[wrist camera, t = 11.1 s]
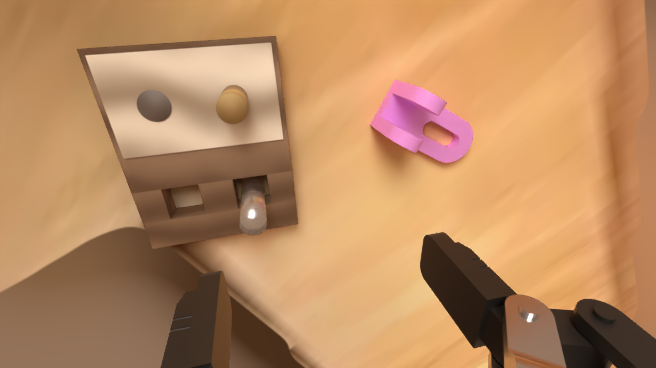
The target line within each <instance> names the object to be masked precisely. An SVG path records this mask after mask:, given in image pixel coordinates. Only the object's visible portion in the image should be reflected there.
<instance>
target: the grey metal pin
mask: <svg viewBox="0 0 656 368" xmlns="http://www.w3.org/2000/svg"><path fill="white" fill-rule="evenodd" d="M266 227H267V217H266V206H265V194H264V182H263V179H262V177H261V176H253V177H246V178H243V180H242V192H241V209H240V228H241V230H242V231H243V232H244V233H245V234H248V235H258V234H260V233H262V232H263V231H264V230H265V229H266Z"/></svg>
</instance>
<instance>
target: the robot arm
mask: <svg viewBox="0 0 656 368" xmlns="http://www.w3.org/2000/svg"><path fill="white" fill-rule="evenodd" d="M420 269H421V273H422V276H423V278H424V280H425V281H426V282H427V284H428V285H429V287H430V288H431V289H432V291H433V292H434V294H435V295H436V296H437V298H438V299H439V301H440V302H441V303H442V305H443V306H444V308H445V309H446V310H447V312H448V313H449V315H450V316H451V317H452V319H453V320H454V322H455V323H456V324H457V326H458V327H459V329H460V330H461V331H462V333H463V334H464V336H465V337H466V338H467V340H468V341H469V343H470V344H471V345H472V347H473V348H478V347H481V346H485V345H486V347H487V348H488V349H489V355H488V368H610V367H611V365H612V364H613V365H614V366H616V367H617V368H656V339H655V338H653V337H652V336H651V335H650V334H648V333H647V332H646V331H645V330H643V329H642V328H641V327H640V326H638V325H637V324H636V323H635V322H633V321H632V320H631V319H630V318H628V317H627V316H626V315H625V314H623V313H622V312H621V311H619V310H618V309H616V308H615V307H613V306H611V305H609V304H607V303H605V302H602V301H598V300H594V299H583V300H580V301H579V302H578V303H577V305H576V307H575V309H574V310H560V309H549V308H548V307H547V306H546V305H545V304H543V303H542V302H540V301H539V300H537V299H535V298H532V297H529V296H526V295H519V294H518V295H517V294H516V293H515V292H514V291H513V290H512V289H511V288H510V287H509V286H508V285H507V284H506V283H505V282H504V281H503V280H502V279H501V278H500V277H499V276H498V275H497V274H496V273H495V272H494V271H493V270H492V269H491V268H490V267H487V265H486V264H485V263H484V262H483V261H482V260H480V258H479V257H478V256H477V255H476V254H475V253H474V252H473V251H472V250H471V249H470V248H468V247H466V246H464V245H462V244H461V243H459V242H457V243H455V242H454V241H453V240H452V239H451V238H450V237H449V236H448V235H447V234H446V233H444V232H441V233H436V234H430V235H426V236H425V237H424V239H423V246H422V254H421V261H420ZM231 318H232V313H231V303H230V298H229V294H228V290H227V286H226V282H225V277H224V274H223V271H218V272H212V273H207V274H201V275H200V278H199V283H198V289H197V290H196V291H190V292H186V293H185V294H184V296H183V297H182V298H181V300H180V301H179V303H178V304H177V306H176V310H175V314H174V318H173V322H172V325H171V329H170V330H171V332H170V333H169V337H168V341H167V345H166V349H165V353H164V357H163V361H162V365H161V368H229V360H230V340H231V321H232V319H231Z"/></svg>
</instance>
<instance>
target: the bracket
mask: <svg viewBox="0 0 656 368" xmlns="http://www.w3.org/2000/svg"><path fill="white" fill-rule="evenodd" d="M446 104H447V103H446V102H445V101H444V100H443V99H441V98H439V97H438V96H436V95H434V94H432V93H430V92H428V91H426V90H424V89H422V88H420V87H417V86H414V85H411V84H407V83H404V82H400V81H397V80H394V82H393V84H392V86H391V88H390V89H389V91H388V93H387V95H386V97H385V98H384V100H383V102H382V104H381V106H380V107H379V109H378V111H377V113H376V115H375V117H374V118H373V120H372V122H371V124H370V125H371V126H372V127H374V128H375V129H376V130H378V131H379V132H380V133H382V134H383V135H384V136H386V137H387V138H389V139H390V140H392V141H393V142H395V143H397V144H399V145H400V146H402V147H404V148H406V149H408V150H410V151H412V152H414V153H416V152H417V151H418V150H419V151H421V152H423V153H425V154H427V155H429V156H431V157H432V158H434V159H436V160H438V161H440V162H444V163H450V162H454V161H456V160H458V159H460V158H461V157H462V156H464V155H465V154H466V152H467V151H468V150H469V148H470V146H471V143H472V140H473V131H472V128H471V126H470V124H469V123H468V122H466V121H465V120H463V119H462V118H460V117H458V116H457V115H455V114H453V113H452V112H450V111H448V110H447V109H445V108H444V107H445V106H446ZM430 121H432V122H434V123H436V124H438V125H439V126H441V127H443V128H445V129H447V130H448V131H450V132H452V134H453V140H452V142H451V143H450V144H449V145H446V146H444V145H442V144H440V143H438V142H436V141H434V140H432V139H430V138H429V137H427V136H425V135H424V134H423V127H424V125H425V124H426V123H427V122H430Z"/></svg>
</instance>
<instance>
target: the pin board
mask: <svg viewBox="0 0 656 368" xmlns="http://www.w3.org/2000/svg"><path fill="white" fill-rule="evenodd" d="M77 51H78V54H79V56H80V59H81V62H82V64H83V67H84V69H85V72H86V75H87V77H88V80H89V83H90V85H91V88H92V90H93V93H94V96H95V98H96V101H97V104H98V106H99V109H100V112H101V114H102V117H103V119H104V122H105V125H106V127H107V130H108V133H109V135H110V138H111V140H112V143H113V146H114V148H115V151H116V154H117V156H118V159H119V161H120V164H121V167H122V169H123V172H124V175H125V177H126V180H127V183H128V185H129V188H130V190H131V193H132V196H133V198H134V201H135V204H136V206H137V209H138V211H139V214H140V217H141V219H142V222H143V225H144V227H145V230H146V232H147V235H148V238H149V240H150V243H151V246H152V248H153V249H155V248H161V247H167V246H172V245H178V244H184V243H190V242H196V241H202V240H207V239H213V238H219V237H225V236H231V235H236V234H242V233H244V232H243V231H242V230H241V228H240V209H241V199H239V195H238V190H237V186H236V181H235V179H239V178H246V177H253V176H260V175H267V179H268V185H269V192H270V194H267V195H265V206H266V217H267V227H266V229H271V228H277V227H283V226H289V225H295V224H298V217H297V209H296V201H295V192H294V184H293V176H292V167H291V159H290V151H289V142H288V134H287V126H286V117H285V109H284V100H283V92H282V84H281V75H280V67H279V59H278V50H277V42H276V36H269V37H253V38H238V39H223V40H208V41H192V42H177V43H162V44H147V45H132V46H116V47H101V48H86V49H77ZM197 184H198V186H199V189H200V193H201V197H202V200H203V204H201V205H195V206H188V207H182V208H176V207H175V204H174V201H173V198H172V195H171V192H170V188H176V187H183V186H190V185H197ZM266 229H265V230H266Z"/></svg>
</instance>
